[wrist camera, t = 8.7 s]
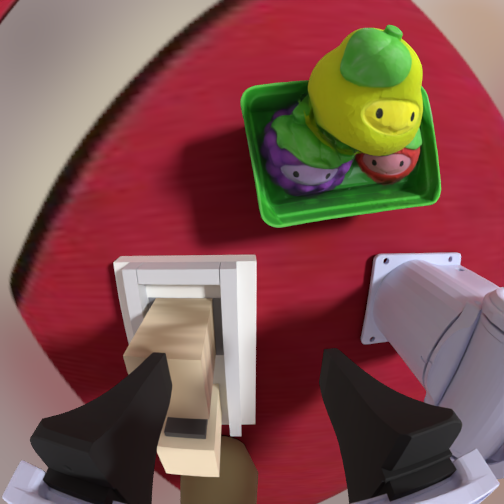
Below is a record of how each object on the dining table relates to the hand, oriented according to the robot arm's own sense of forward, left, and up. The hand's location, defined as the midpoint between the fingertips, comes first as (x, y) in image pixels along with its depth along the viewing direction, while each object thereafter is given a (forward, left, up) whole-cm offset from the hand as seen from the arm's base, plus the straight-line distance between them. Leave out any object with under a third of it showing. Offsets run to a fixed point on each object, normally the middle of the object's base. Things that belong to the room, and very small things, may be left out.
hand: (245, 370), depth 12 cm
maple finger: (+4, +2, -8) cm, 9 cm away
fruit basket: (-6, -11, -10) cm, 16 cm away
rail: (+4, +5, -9) cm, 11 cm away
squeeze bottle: (+3, +20, -10) cm, 22 cm away
